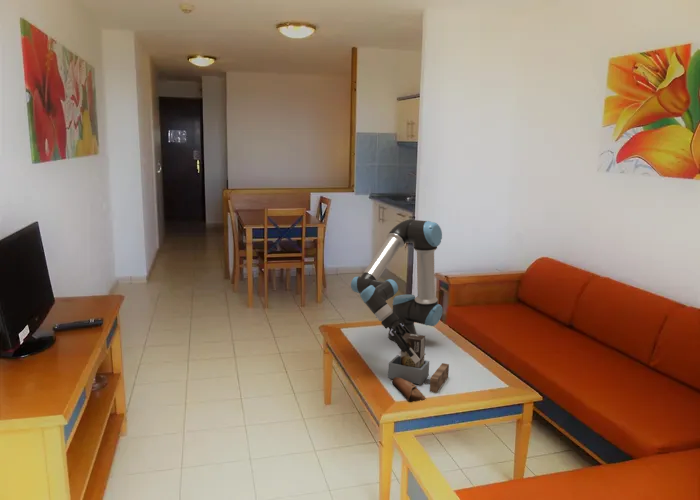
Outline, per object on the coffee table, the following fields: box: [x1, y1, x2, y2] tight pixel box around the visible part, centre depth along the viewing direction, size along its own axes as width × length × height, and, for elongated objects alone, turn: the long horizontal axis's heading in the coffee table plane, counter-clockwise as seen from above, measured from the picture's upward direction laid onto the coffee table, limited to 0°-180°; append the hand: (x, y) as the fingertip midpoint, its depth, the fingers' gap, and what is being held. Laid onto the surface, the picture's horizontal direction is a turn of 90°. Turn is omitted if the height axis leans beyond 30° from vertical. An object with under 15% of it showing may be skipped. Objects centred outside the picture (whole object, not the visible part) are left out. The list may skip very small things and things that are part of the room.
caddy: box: [387, 354, 430, 385], centre depth 238 cm, size 11×15×7 cm
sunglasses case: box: [392, 377, 427, 403], centre depth 225 cm, size 18×7×7 cm
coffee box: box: [400, 333, 426, 368], centre depth 236 cm, size 9×6×16 cm
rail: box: [422, 378, 430, 386], centre depth 238 cm, size 5×20×1 cm, turn 65°
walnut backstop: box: [429, 362, 450, 394], centre depth 233 cm, size 18×3×6 cm, turn 155°
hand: (420, 358), depth 235 cm, fingers closed on coffee box, 6 cm apart
